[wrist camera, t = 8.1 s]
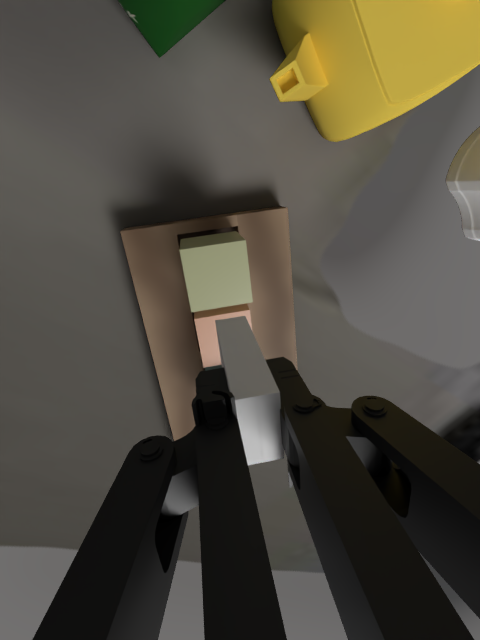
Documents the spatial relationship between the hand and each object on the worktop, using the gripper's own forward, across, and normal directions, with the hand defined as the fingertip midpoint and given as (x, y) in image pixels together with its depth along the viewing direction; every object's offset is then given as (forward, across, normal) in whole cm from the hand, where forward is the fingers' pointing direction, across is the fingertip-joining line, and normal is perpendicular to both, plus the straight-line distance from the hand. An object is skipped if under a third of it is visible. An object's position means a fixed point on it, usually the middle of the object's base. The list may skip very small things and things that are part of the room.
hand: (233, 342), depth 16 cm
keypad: (+16, 0, -8) cm, 18 cm away
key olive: (+13, 0, +1) cm, 13 cm away
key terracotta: (+15, 0, -5) cm, 16 cm away
